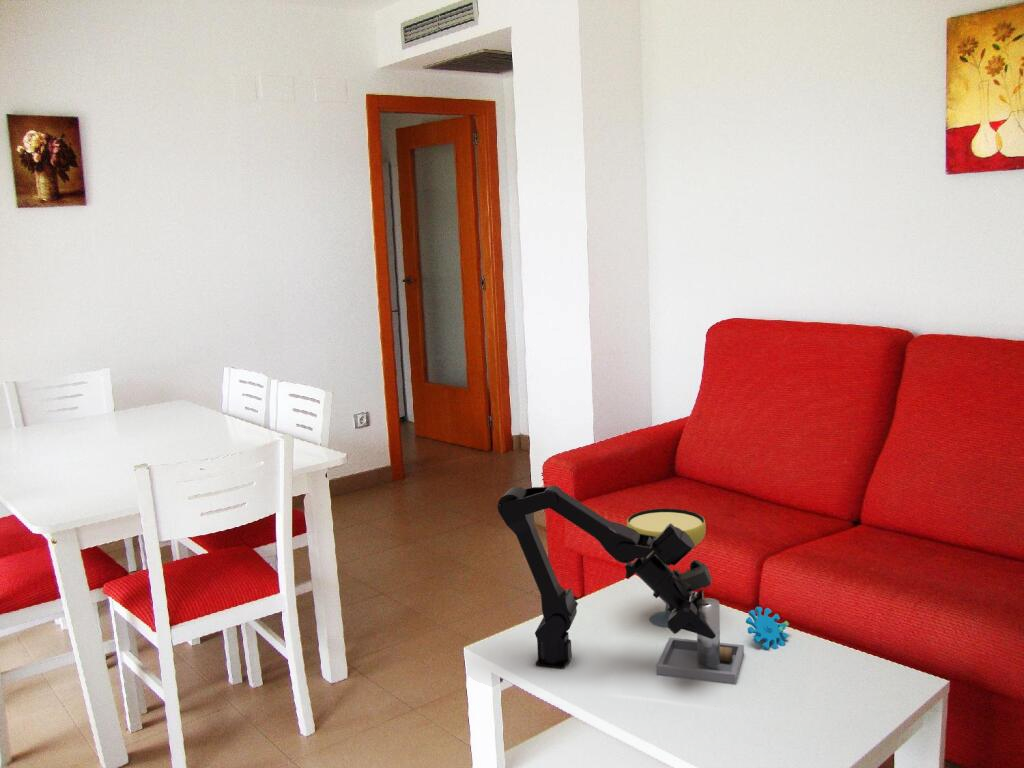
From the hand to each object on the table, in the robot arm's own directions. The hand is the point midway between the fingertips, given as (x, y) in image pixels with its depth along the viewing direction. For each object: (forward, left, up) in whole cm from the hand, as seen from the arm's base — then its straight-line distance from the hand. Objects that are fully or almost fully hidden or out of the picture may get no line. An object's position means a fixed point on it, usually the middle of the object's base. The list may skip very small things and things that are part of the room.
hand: (714, 632), depth 196 cm
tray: (-3, +2, -9) cm, 10 cm away
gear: (+9, +17, -9) cm, 21 cm away
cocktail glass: (-14, +23, -9) cm, 28 cm away
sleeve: (-1, 0, -7) cm, 7 cm away
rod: (-1, +5, -8) cm, 10 cm away
